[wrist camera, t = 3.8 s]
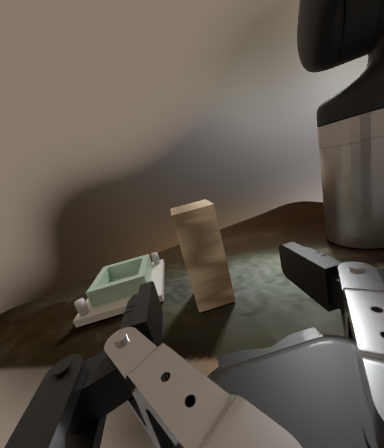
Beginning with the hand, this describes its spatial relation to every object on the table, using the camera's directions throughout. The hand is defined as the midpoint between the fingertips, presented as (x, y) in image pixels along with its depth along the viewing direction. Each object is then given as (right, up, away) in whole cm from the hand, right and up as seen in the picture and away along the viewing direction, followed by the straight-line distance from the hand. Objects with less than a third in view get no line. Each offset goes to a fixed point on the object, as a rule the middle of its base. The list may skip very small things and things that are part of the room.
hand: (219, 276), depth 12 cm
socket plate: (-12, -8, +20) cm, 25 cm away
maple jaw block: (+1, -6, +13) cm, 15 cm away
